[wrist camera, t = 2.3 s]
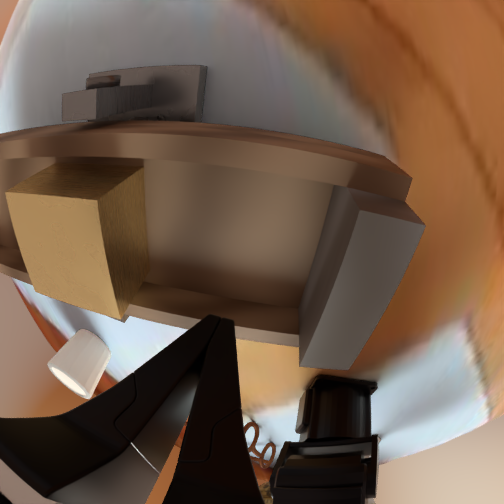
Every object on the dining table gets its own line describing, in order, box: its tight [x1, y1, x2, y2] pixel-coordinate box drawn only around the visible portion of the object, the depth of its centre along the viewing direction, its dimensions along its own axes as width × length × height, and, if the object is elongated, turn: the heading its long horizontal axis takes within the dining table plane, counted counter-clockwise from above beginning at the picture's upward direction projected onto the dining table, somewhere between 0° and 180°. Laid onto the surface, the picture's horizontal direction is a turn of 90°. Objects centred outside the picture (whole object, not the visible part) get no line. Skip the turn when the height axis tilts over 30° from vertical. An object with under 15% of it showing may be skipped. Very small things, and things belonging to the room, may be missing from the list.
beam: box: [0, 120, 426, 370], centre depth 13 cm, size 28×10×6 cm, turn 83°
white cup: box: [48, 329, 111, 399], centre depth 28 cm, size 7×7×7 cm
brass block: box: [5, 163, 150, 320], centre depth 12 cm, size 6×6×4 cm
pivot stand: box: [62, 65, 207, 323], centre depth 15 cm, size 8×16×6 cm, turn 173°
